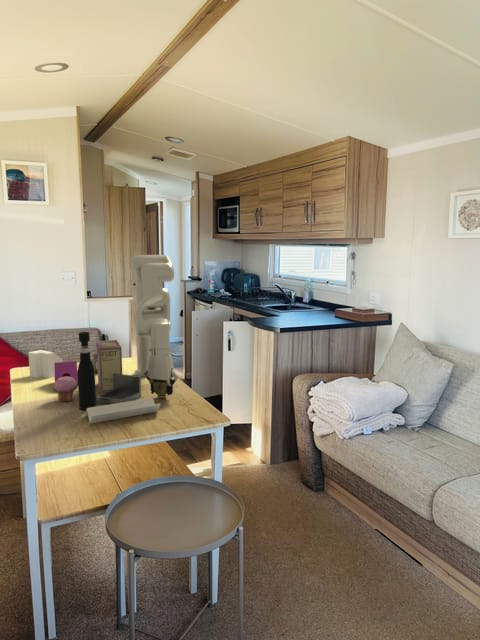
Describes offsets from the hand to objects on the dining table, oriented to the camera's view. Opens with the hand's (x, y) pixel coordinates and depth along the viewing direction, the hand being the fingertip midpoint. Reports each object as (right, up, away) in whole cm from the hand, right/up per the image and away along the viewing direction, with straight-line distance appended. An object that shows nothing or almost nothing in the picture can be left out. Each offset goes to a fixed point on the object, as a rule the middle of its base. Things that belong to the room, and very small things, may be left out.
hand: (161, 393), depth 200 cm
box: (-25, 0, +15) cm, 29 cm away
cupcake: (-39, -3, -2) cm, 39 cm away
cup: (0, -2, 0) cm, 2 cm away
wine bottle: (-27, -4, -12) cm, 30 cm away
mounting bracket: (-46, 0, +17) cm, 49 cm away
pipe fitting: (-39, +4, +45) cm, 60 cm away
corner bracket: (-62, +3, +36) cm, 72 cm away
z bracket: (-11, -6, -20) cm, 24 cm away
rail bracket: (-17, -2, -2) cm, 18 cm away
